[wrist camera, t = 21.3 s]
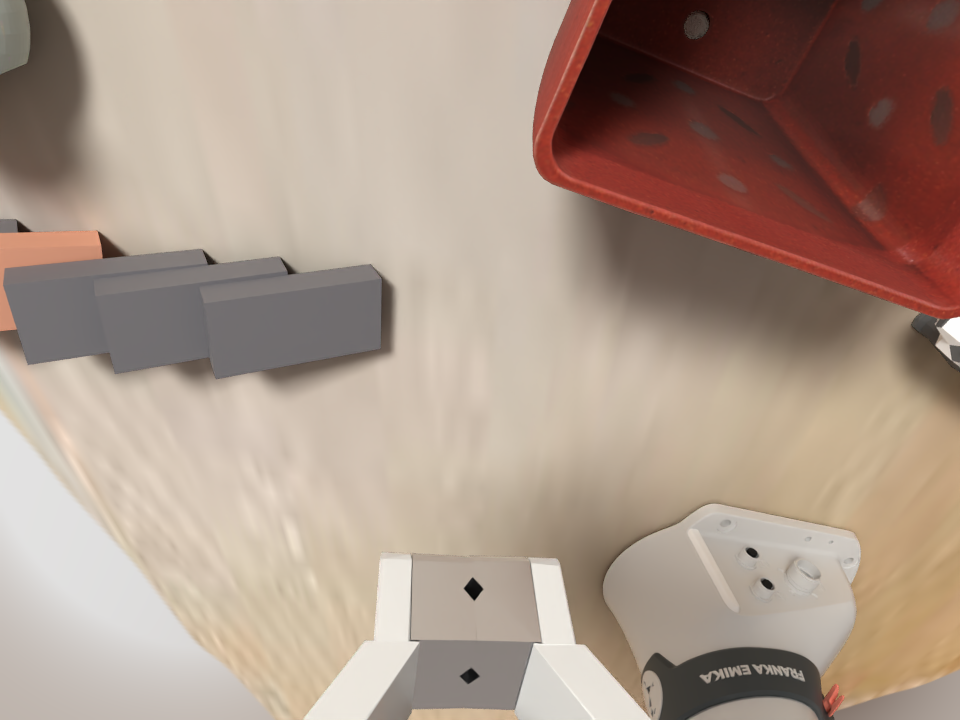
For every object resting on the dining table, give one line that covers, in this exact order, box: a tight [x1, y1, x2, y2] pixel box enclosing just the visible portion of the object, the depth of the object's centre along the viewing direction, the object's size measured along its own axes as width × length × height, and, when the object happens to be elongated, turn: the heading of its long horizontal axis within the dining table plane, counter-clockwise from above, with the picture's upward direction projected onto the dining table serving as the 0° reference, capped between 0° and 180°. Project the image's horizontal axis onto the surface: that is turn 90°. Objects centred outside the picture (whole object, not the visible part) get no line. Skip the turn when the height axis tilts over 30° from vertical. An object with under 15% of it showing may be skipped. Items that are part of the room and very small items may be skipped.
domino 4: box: [199, 264, 382, 379], centre depth 41 cm, size 2×5×10 cm
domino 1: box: [0, 231, 103, 331], centre depth 38 cm, size 2×5×10 cm
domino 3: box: [93, 257, 288, 374], centre depth 40 cm, size 2×5×10 cm
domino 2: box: [3, 249, 208, 365], centre depth 40 cm, size 2×5×10 cm
